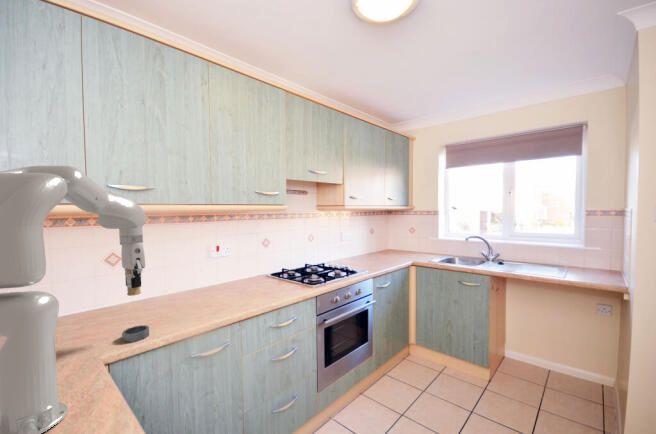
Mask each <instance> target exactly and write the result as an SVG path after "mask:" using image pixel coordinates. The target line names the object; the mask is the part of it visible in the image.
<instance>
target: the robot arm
mask: <svg viewBox="0 0 656 434" xmlns="http://www.w3.org/2000/svg"><path fill="white" fill-rule="evenodd" d="M63 200H66V201H68V202H69V203H71V204H73V205H74V206H76V207H77V208H79V210H81V211H84V212H86V213H90V214H95V215H97V222H98V224H99V226H101V227H102V228H104V229H107V230H118V236H119V237H118V238H119V246H121V254H120V255H121V267H122V268H123V269H124V276H125V286H126V287H127V277H126V274H127V273H126V268H127V269H129V270H131V272H132V278H131V287H132V288H136V287H140V288H141V287H142V273H143V271H144V270H143V269H145V267H146V258H145V257H146V256H145V249H144V246H143V244H144V238H143V236H144V235H143V234H144V233H143V226H144V225H145V223H146V221H147V215H146V212H145V211H144V209H143V208H142V207H141V205H139V204H138V203H137V202H136V201H134V200H132V199H131V198H128V197H125V196H122V195H119V194H117V193H114V192H110V191H107V190H105V189H104V188H102V187H101V186H100V185H99V184H97V183H96V182H95V181H93V180H92V178H90V177H89V176H88V175H86V174H85V173H84V172H83V171H82V170H80V169H78V168H76V167H74V166H70V165H31V166H24V167H18V168H13V169H12V168H11V169H7V170H0V289H16V288H23V287H30V286H32V285H36V284H38V283H41V281H42V280H43V279H44V277H45V275H46V272H47V261H46V250H45V240H44V239H45V237H44V224H45V222H46V219H47V217H48V215H49V214H50V213H51V212H52V211H53V209H54V208H56V206H57V205H59V204H60V203H61V202H62V201H63ZM136 267H137V269H134V268H136ZM134 271H135V273H134ZM59 311H60V304H59V300H58V298H57V297H56V296H54V295H53V294H52V293H49V292H46V291H39V290H36V291H35V290H30V291H29V290H26V291H12V292H0V337H6V340H5V342H4V343H3V345H2V346H1V347H0V434H41V433H43V432H45V431H46V432H47V430H48V429H50V428H51V427H53V426H54V425H56V424H57V423H58V424H59V423H61V422H62V421H63V419H65V417H66V416H67V415H68V411H69V410H68V405H67V404H66V403H65V402H59V401H60V400H59V386H58V385H59V384H58V369H57V368H58V367H57V366H58V365H57V353H56V328H57V321H58V317H59ZM66 414H67V415H66ZM61 420H62V421H61ZM60 421H61V422H60ZM58 424H57V425H58ZM57 425H56V426H57ZM54 427H55V426H54ZM54 427H53V428H54ZM51 429H52V428H51ZM51 429H50V430H51ZM48 431H49V430H48ZM46 432H45V433H46ZM43 434H44V433H43Z"/></svg>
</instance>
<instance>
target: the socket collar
mask: <svg viewBox="0 0 656 434" xmlns="http://www.w3.org/2000/svg"><path fill="white" fill-rule="evenodd" d="M121 337H122V339H121V342H123V343H125V344H126V343H128V344H129V343H130V344H131V343H136V342H140V341H142V340H146V339H147V338H149V337H150V326H148V325H147V324H146V325H145V324H144V325H137V326H136V325H135V326H132V327H129V328H125V330H123V331H122V333H121Z"/></svg>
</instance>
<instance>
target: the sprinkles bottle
mask: <svg viewBox="0 0 656 434" xmlns="http://www.w3.org/2000/svg"><path fill="white" fill-rule="evenodd" d="M134 269H137V267H136V268H134ZM126 273H127V274H126V277H127V286H126V287H127V288H126V289H127V296H131V297H132V296H137V295H138V296H139V294H141V293H142V290H141V287H136V288H132V287H131V278H132V272H131V270H129V269H127V268H126ZM134 273H135V271H134ZM126 277H125V278H126Z"/></svg>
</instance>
